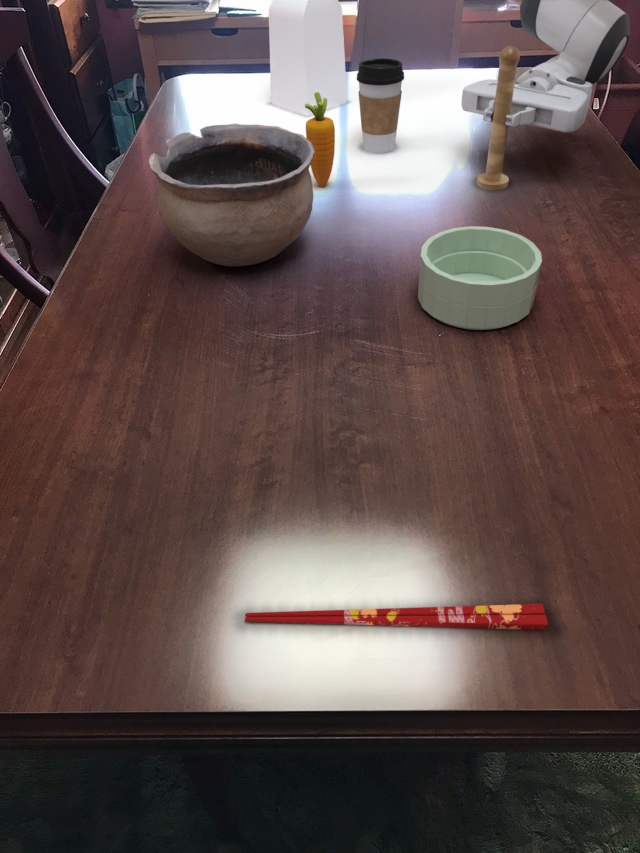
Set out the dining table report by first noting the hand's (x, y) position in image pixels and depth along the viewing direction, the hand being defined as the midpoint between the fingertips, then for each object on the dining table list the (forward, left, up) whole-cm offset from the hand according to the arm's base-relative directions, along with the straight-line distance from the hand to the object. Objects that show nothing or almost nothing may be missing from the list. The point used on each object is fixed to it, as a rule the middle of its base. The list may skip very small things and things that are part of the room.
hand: (498, 118), depth 108 cm
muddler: (-1, 0, -11) cm, 11 cm away
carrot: (+24, -14, -11) cm, 30 cm away
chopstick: (+57, +63, -11) cm, 86 cm away
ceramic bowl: (+44, 0, -11) cm, 46 cm away
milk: (+7, -54, -11) cm, 56 cm away
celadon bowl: (+23, +28, -11) cm, 38 cm away
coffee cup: (+7, -24, -11) cm, 28 cm away
